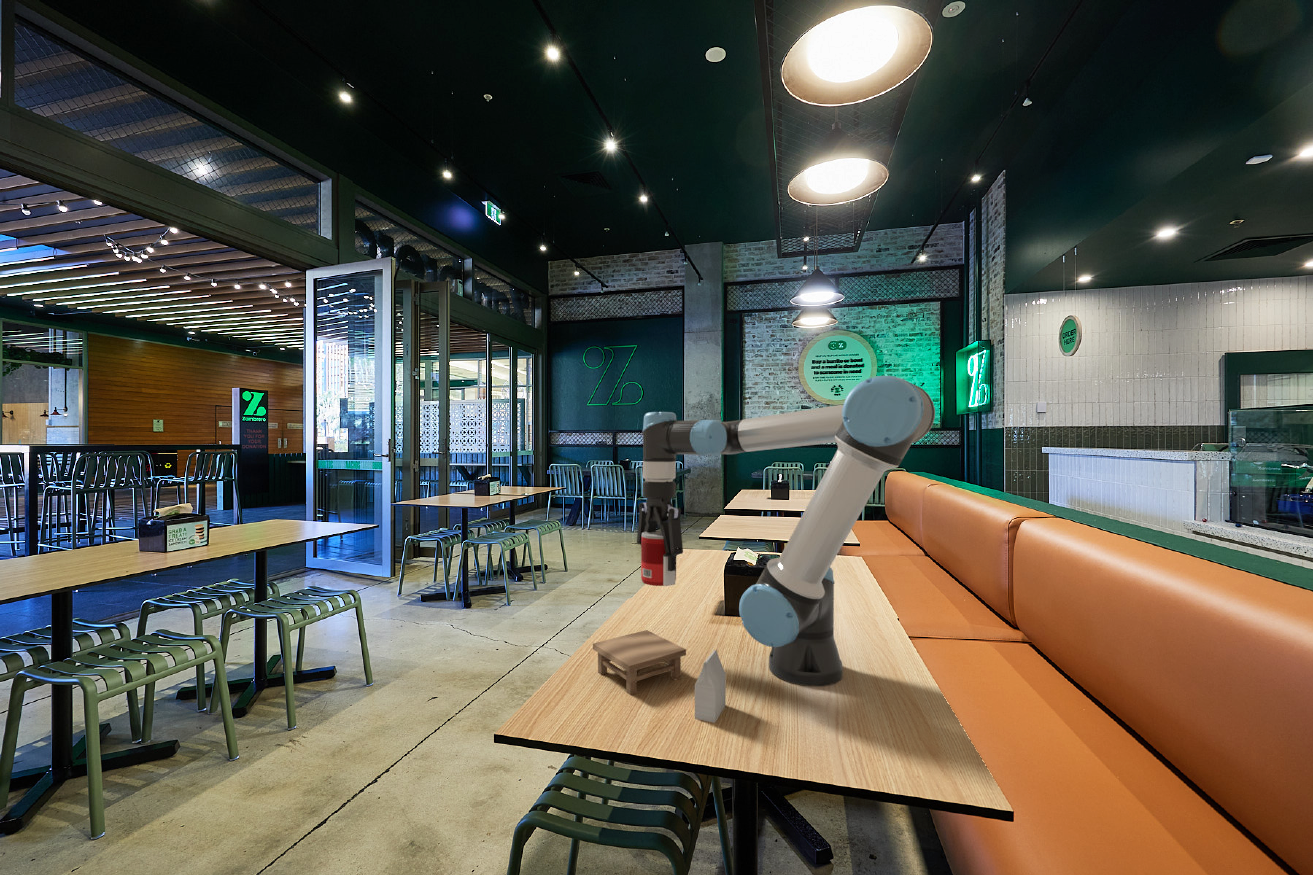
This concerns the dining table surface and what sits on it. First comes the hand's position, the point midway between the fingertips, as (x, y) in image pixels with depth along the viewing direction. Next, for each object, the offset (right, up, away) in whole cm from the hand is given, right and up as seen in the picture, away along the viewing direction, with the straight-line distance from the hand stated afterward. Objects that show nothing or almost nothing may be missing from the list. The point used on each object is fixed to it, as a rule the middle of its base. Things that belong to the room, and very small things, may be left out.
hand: (658, 580), depth 120 cm
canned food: (0, -1, 0) cm, 1 cm away
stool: (-4, -17, -10) cm, 20 cm away
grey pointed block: (+9, -17, -24) cm, 31 cm away
